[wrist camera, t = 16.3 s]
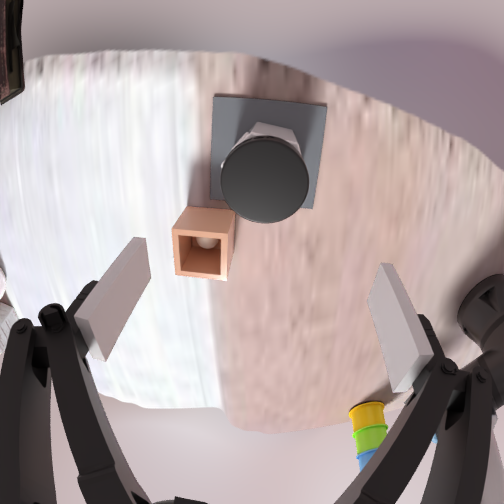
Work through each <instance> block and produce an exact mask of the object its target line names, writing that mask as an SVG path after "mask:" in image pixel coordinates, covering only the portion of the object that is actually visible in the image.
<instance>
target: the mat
mask: <svg viewBox="0 0 504 504" xmlns="http://www.w3.org/2000/svg"><path fill="white" fill-rule="evenodd" d="M326 112H327V107H324V106H318V105H311V104H303V103H295V102H287V101H277V100H266V99H252V98H234V97H213V114H212V141H211V183H210V199H215V200H225V199H224V197H223V194H222V191H221V187H220V174H221V170H222V168H221V164H222V162H223V161H224V160H225V158H226V157H227V155H228V154H229V152H230V151H231V150H232V148H233V146H234V145H235V144H236V143H237V142H238V140H239V139H240V138H241V137H242V136H243V135H244V134H245V133H246V132H248V131H249V129H250V128H251V127H252V126H253V125H254V124H255V123H256V122H261V123H266V124H270V125H275V126H279V127H283V128H287V129H291V130H293V131H294V134H295V136H296V139H297V142H298V144H299V148H300V151H301V155H302V157H303V159H304V161H305V164H306V167H307V170H308V174H309V184H310V185H309V190H308V194H307V197H306V199H305V201H304V203H303V204H302V206H301V207H300V208H308V209H313V203H314V197H315V191H316V184H317V178H318V171H319V164H320V157H321V150H322V143H323V136H324V128H325V120H326Z"/></svg>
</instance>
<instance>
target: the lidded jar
mask: <svg viewBox="0 0 504 504" xmlns="http://www.w3.org/2000/svg"><path fill="white" fill-rule="evenodd" d="M5 288H6V276H5V274H4V272H3V270H2V269H1V268H0V300H1V298H2V296H3V294H4V292H5Z"/></svg>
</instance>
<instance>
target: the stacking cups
mask: <svg viewBox="0 0 504 504" xmlns="http://www.w3.org/2000/svg"><path fill="white" fill-rule="evenodd" d="M383 409H384V404H383V403H381V402H368V403H364V404H361V405H358V406H356V407H354V408H353V409H352V410H351V411H350V412H349V417H350V418H352V423H353V430H354V433H353V435H352V436H353V438H355V440H356V446H357V454H358V455H357V456H356V458H357V459H359V466H360V472H361V471H362V469H363V468H364V467H365V465H366V464H367V463H368V461H369V460H370V459H371V457H372V456H373V454H374V453H375V452H376V450H377V449H378V447H379V446H380V444H381V443H382V441H383V440H384V438H385V437H386V435H387V433H386V430H387V429H388V425H386V424H385V419H384V414H383Z"/></svg>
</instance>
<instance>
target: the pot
mask: <svg viewBox="0 0 504 504" xmlns="http://www.w3.org/2000/svg"><path fill="white" fill-rule="evenodd" d="M234 231H235V212H234V211H233V210H229V209H217V208H205V207H191V206H187V207H186V208H185V210H184V211H183V213H182V214H181V216H180V217H179V218H178V220H177V221H176V223H175V224H174V226H173V227H172V240H173V252H174V264H175V274H176V275H181V276H189V277H198V278H206V279H215V280H224V281H227V277H228V273H229V269H230V265H231V261H232V257H233V253H234ZM196 237H205V238H216V239H219V241H218V243H217V244H216V245H215V246H214V247H213V248H210V249H205V248H202V247H201V246H200V245H199V244H198V243H197V240H196Z"/></svg>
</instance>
